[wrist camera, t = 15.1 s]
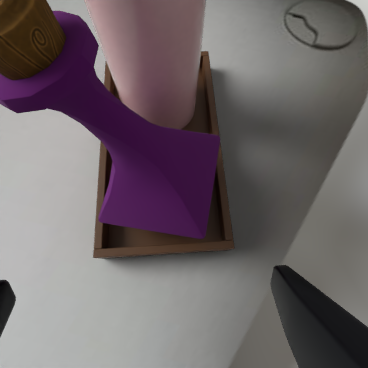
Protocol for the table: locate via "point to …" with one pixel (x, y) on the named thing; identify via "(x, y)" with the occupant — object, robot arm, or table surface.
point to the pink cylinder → (152, 54)
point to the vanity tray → (156, 241)
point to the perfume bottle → (106, 122)
